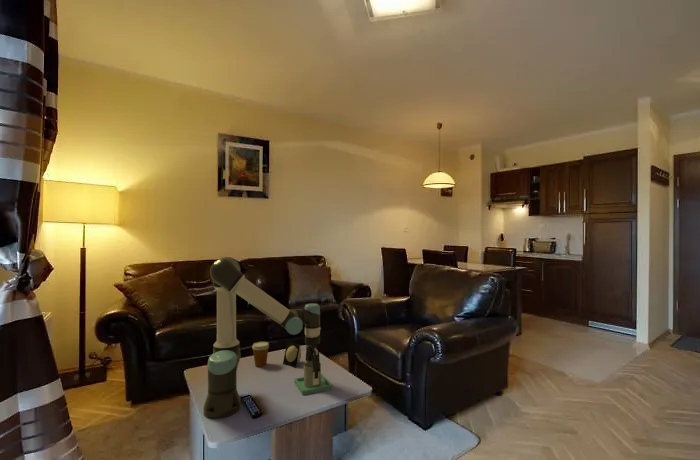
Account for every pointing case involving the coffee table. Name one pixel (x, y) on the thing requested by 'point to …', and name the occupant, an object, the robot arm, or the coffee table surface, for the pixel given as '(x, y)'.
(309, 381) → the cup
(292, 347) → the decorative object
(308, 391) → the tray
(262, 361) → the disposable coffee cup
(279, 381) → the coffee table surface
